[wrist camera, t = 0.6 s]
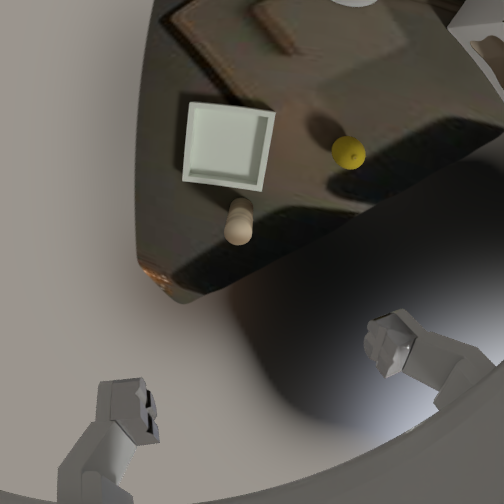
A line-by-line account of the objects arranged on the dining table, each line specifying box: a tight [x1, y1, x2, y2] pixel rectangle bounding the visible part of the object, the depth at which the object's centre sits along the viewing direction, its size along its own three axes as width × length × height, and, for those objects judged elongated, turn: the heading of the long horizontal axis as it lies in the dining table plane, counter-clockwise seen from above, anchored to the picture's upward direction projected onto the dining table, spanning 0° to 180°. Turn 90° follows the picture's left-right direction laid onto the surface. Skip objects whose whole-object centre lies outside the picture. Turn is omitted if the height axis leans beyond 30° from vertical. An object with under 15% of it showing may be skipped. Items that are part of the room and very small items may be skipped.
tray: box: [182, 101, 276, 192], centre depth 48 cm, size 14×14×3 cm
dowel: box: [224, 197, 253, 245], centre depth 52 cm, size 4×4×10 cm
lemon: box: [332, 136, 365, 169], centre depth 46 cm, size 6×6×8 cm
